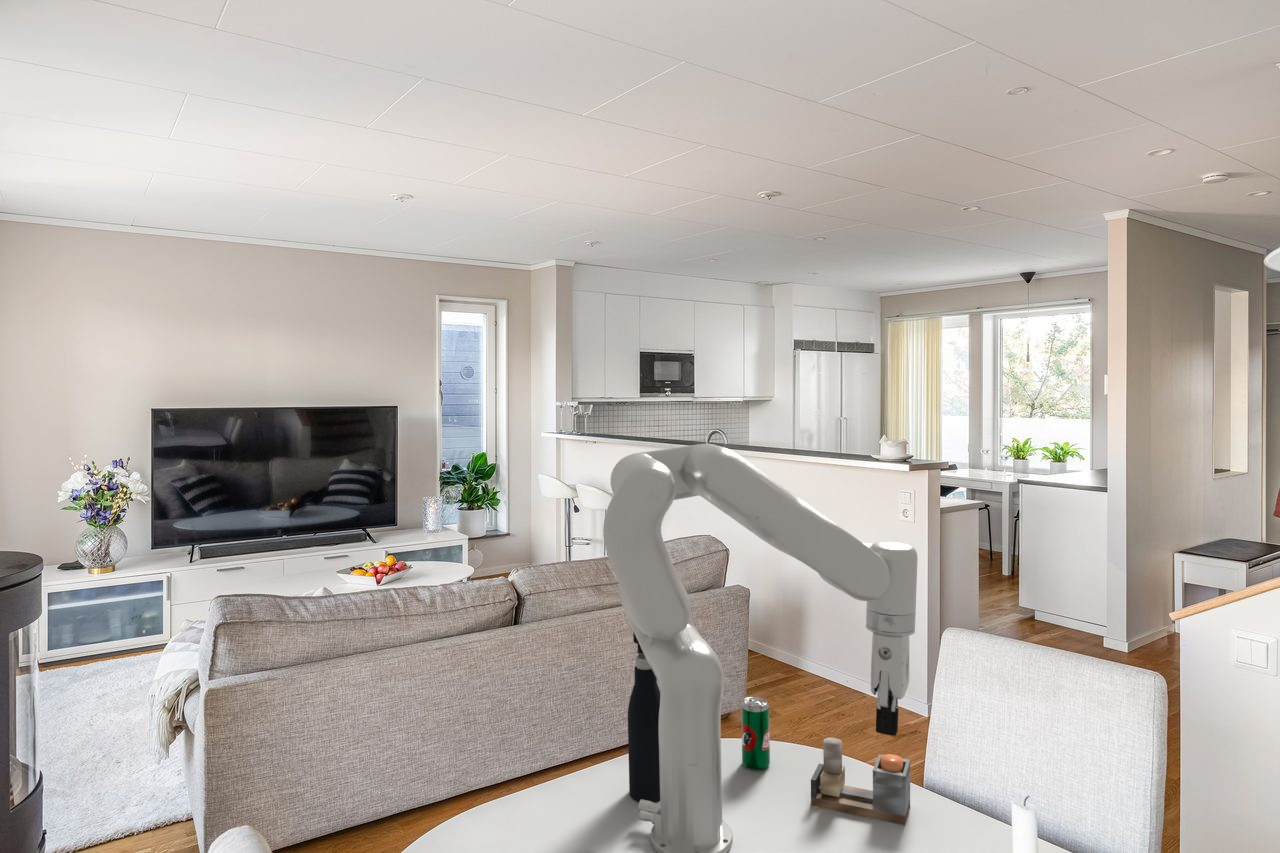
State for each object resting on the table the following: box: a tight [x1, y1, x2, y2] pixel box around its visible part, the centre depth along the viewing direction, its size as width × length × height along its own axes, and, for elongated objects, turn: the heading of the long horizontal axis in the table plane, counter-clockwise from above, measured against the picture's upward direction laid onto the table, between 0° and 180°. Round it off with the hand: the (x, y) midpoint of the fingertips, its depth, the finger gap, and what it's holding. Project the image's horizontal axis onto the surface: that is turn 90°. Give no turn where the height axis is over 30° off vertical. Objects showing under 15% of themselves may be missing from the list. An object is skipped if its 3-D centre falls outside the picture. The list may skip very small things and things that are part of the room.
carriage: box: [820, 737, 846, 797], centre depth 135 cm, size 3×5×8 cm, turn 155°
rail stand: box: [810, 753, 911, 827], centre depth 133 cm, size 15×6×8 cm, turn 65°
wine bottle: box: [627, 630, 660, 803], centre depth 138 cm, size 6×6×30 cm
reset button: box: [881, 753, 904, 773], centre depth 130 cm, size 3×3×3 cm
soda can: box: [741, 696, 771, 771], centre depth 147 cm, size 5×5×12 cm
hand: (886, 732), depth 130 cm, fingers closed
